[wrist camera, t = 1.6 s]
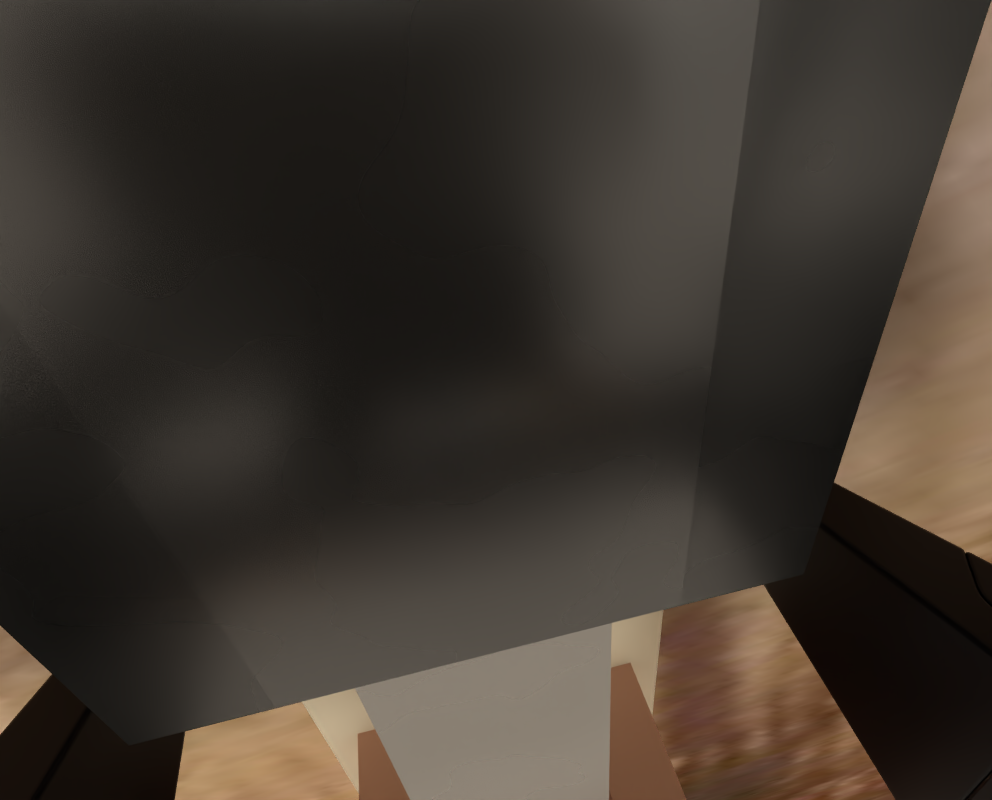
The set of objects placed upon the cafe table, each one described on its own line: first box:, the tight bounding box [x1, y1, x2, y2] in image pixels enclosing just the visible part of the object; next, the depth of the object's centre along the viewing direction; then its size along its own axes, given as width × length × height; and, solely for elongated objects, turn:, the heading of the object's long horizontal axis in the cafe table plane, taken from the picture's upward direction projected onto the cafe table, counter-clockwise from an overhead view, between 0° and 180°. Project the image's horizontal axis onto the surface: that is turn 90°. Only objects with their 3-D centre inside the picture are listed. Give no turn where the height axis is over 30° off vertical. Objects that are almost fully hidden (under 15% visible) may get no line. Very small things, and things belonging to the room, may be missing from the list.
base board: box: [302, 610, 663, 793], centre depth 13 cm, size 9×28×1 cm, turn 6°
